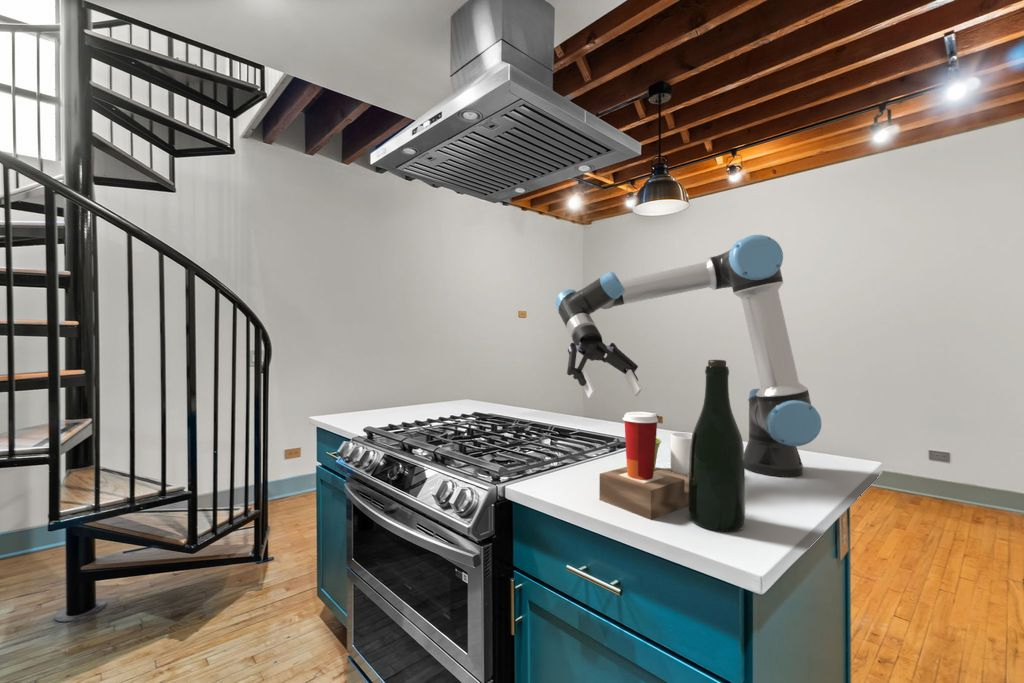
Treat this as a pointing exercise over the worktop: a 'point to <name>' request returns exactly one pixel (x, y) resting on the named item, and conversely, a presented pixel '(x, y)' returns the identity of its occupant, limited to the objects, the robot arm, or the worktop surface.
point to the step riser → (645, 492)
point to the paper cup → (640, 444)
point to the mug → (680, 452)
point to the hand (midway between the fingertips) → (615, 393)
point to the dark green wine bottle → (717, 459)
